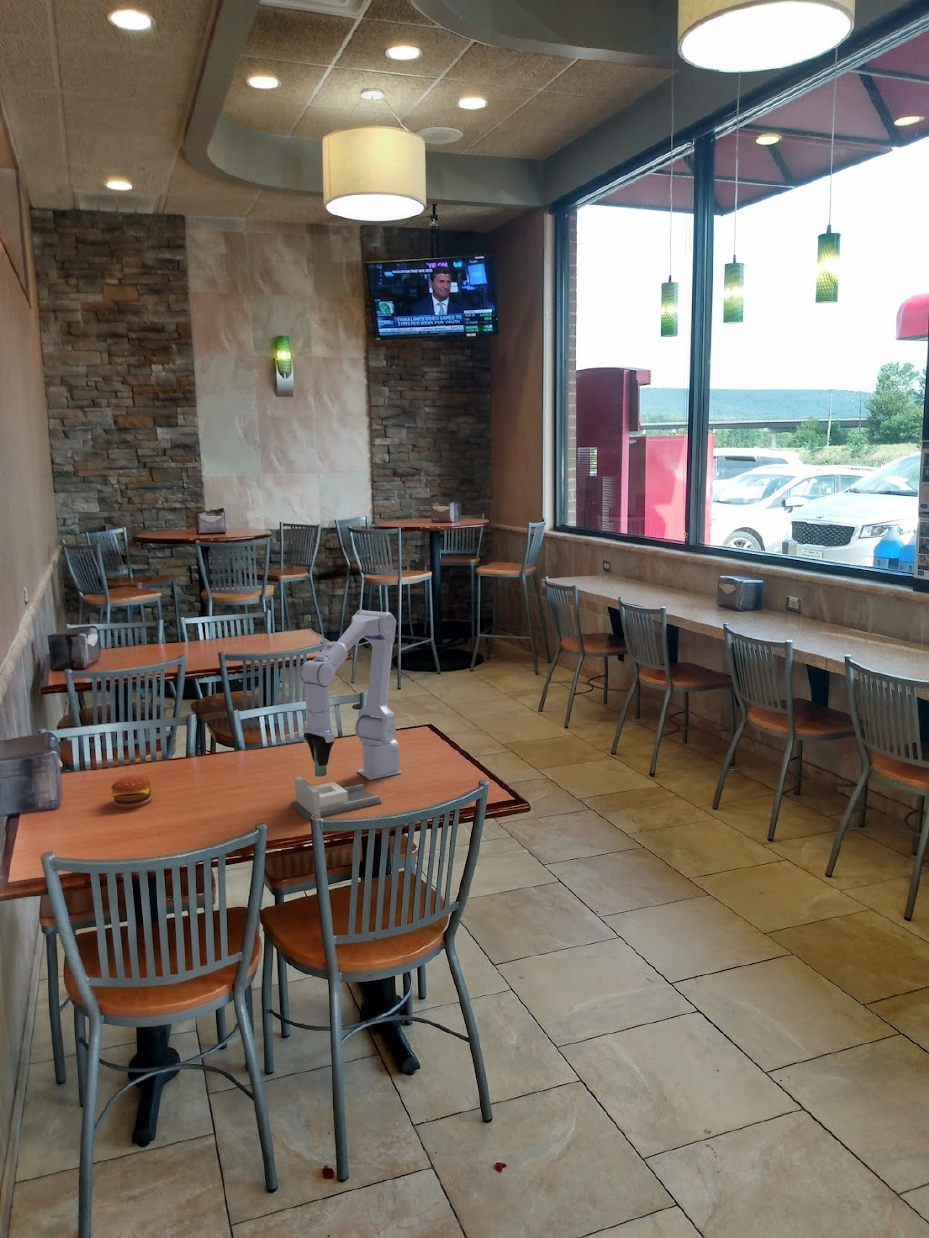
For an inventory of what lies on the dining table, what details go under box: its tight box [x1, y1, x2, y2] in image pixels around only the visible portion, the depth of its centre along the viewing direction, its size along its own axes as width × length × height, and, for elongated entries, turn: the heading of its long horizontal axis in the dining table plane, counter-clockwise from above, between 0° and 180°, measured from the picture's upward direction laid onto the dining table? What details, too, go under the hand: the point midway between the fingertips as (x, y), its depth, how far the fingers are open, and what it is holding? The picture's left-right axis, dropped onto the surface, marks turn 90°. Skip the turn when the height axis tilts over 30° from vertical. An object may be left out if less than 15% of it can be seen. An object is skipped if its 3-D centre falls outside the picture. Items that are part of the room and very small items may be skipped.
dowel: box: [313, 748, 327, 777], centre depth 225 cm, size 3×3×8 cm
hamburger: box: [110, 774, 153, 810], centre depth 228 cm, size 9×10×7 cm
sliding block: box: [312, 781, 348, 808], centre depth 224 cm, size 8×8×4 cm
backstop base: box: [289, 776, 382, 821], centre depth 225 cm, size 19×12×7 cm, turn 121°
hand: (320, 763), depth 225 cm, fingers closed on dowel, 3 cm apart
